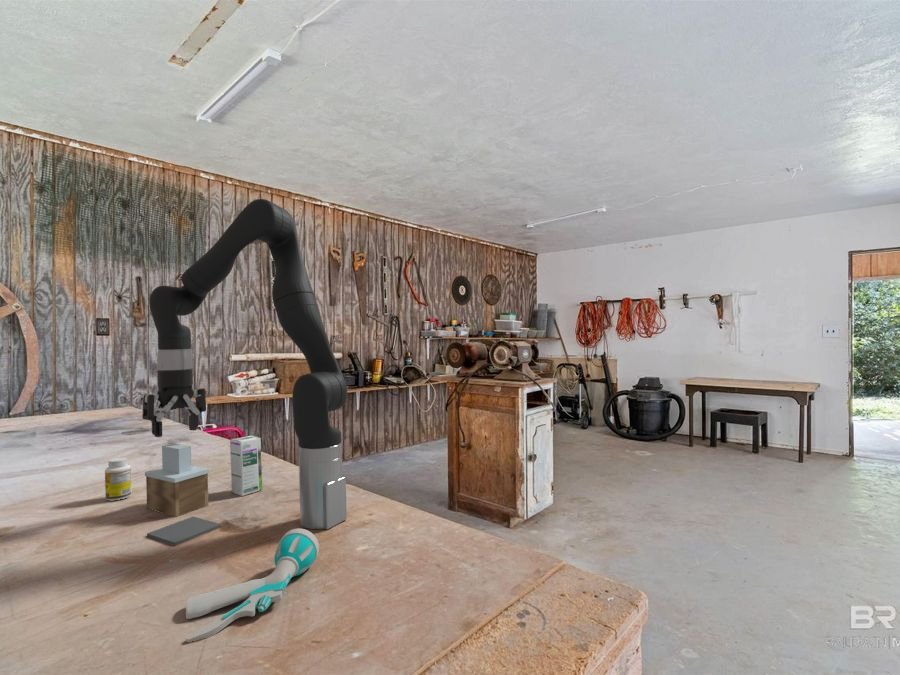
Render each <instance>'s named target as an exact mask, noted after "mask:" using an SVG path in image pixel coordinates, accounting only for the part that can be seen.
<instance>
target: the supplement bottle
mask: <svg viewBox="0 0 900 675" xmlns="http://www.w3.org/2000/svg"><path fill="white" fill-rule="evenodd" d="M104 479H105V480H104V487H105V489H104V490H105V500H106V501H108V500H109V501H108V502H115V501H114V500H118V501H121V500H120V499H123V500H126V499H128V498H130V497H131V496H132V494H133V493H132V489H133V488H132V466H131V465H130V464H128V458H127V457H116V458H111V459H109V460H108V467H106V468H105V469H104ZM125 498H126V499H125Z"/></svg>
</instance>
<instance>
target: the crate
mask: <svg viewBox="0 0 900 675" xmlns="http://www.w3.org/2000/svg"><path fill="white" fill-rule="evenodd" d="M145 477H146V478H145V480H146V484H145V485H146V488H145V489H146V490H145V491H146V509H147V508H150V509H153V510H152V511H154V510H156V511H155V512H157V511H159V512H158V513H161V512H162V513H161V514H164V513H165V514H164V515H168V516H171V517H179V516H183V515H185V514H188V513H190V512H194V511H196V510H199V509H202V508H204V507H207V505H208V506H209V480H208V478H209V473H207V474H204V475H200V476H197V477H193V478H190V479H186V480H183V481H180V482H176V483H173V482H169V481H164V480H160V479H156V478H151V477H147V476H145ZM150 509H149V510H150Z"/></svg>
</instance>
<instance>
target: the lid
mask: <svg viewBox="0 0 900 675" xmlns="http://www.w3.org/2000/svg"><path fill="white" fill-rule="evenodd" d="M161 457H162V458H161V463H162V464H161V465H162V466H161V467H159V468H155V469H154V468H153V469H152V470H147V471H145V472H144V477H146V476H147V477H151V478H156V479H160V480H164V481H169V482H173V483H176V482H180V481H183V480H186V479H190V478H193V477H197V476H200V475H204V474H207V473H208V474H209V473H210V469H209V468H205V467H200V466H195V465H192V446H191V445H187V444H179V443H171V444H166V445H162V446H161Z"/></svg>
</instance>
